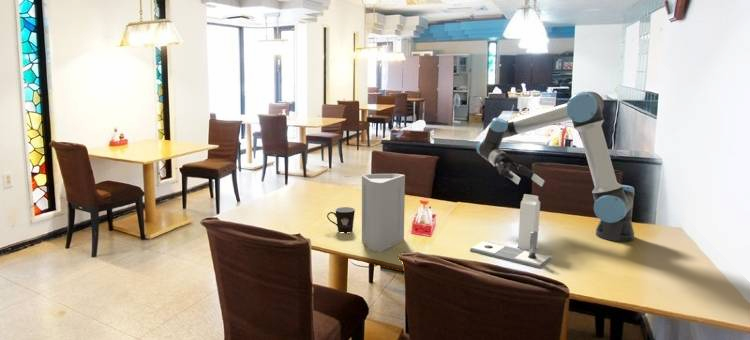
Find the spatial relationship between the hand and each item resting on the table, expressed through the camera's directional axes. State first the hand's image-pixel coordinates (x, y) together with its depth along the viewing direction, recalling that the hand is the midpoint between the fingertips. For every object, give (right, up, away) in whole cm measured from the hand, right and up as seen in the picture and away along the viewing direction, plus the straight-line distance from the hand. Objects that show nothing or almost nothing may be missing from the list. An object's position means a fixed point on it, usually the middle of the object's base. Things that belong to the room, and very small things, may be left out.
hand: (531, 182), depth 206 cm
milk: (-2, -27, -3) cm, 27 cm away
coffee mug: (-79, -22, +17) cm, 84 cm away
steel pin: (-5, -28, -18) cm, 33 cm away
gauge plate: (-12, -28, -12) cm, 33 cm away
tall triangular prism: (-63, -25, +2) cm, 68 cm away
